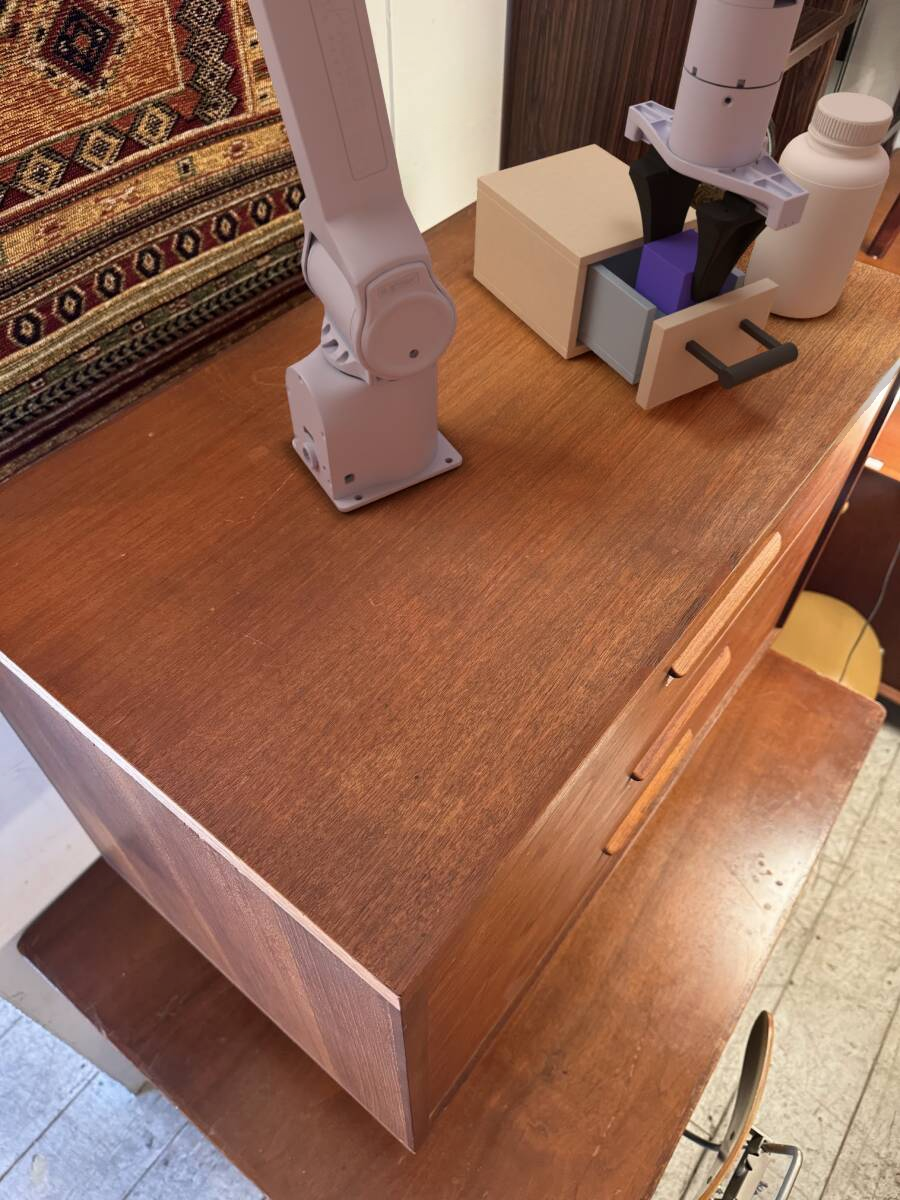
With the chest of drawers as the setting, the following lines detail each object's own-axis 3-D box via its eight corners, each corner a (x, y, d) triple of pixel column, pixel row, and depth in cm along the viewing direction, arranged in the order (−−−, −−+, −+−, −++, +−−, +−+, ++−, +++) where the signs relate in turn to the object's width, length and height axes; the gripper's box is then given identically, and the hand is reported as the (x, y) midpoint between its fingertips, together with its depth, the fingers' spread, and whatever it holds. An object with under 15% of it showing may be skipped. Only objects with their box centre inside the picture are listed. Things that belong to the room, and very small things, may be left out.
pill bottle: (827, 271, 76) (899, 86, 64) (844, 325, 71) (925, 134, 59) (736, 265, 76) (791, 80, 64) (746, 318, 71) (808, 127, 60)
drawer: (798, 401, 63) (832, 320, 58) (690, 450, 60) (715, 369, 55) (647, 286, 72) (663, 207, 67) (545, 323, 69) (554, 242, 64)
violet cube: (673, 321, 61) (685, 274, 58) (634, 290, 63) (643, 244, 60) (720, 303, 62) (734, 256, 59) (680, 274, 64) (691, 228, 61)
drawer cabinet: (679, 316, 71) (705, 215, 65) (566, 360, 68) (580, 257, 61) (581, 241, 78) (594, 143, 72) (473, 276, 75) (477, 176, 68)
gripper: (876, 100, 48) (796, 314, 59) (701, 17, 56) (658, 220, 66) (784, 128, 46) (718, 346, 56) (615, 37, 53) (585, 244, 64)
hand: (681, 280), depth 61 cm, fingers closed on violet cube, 4 cm apart
